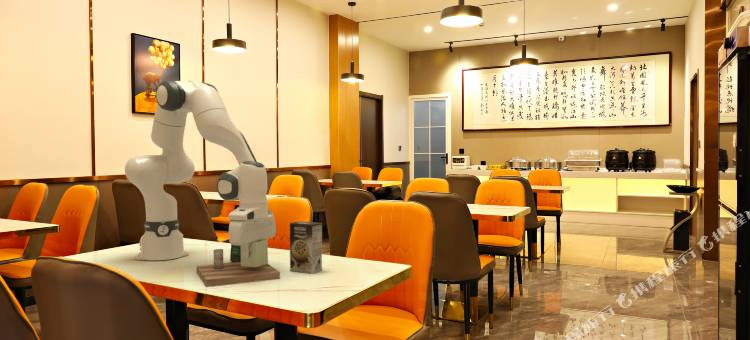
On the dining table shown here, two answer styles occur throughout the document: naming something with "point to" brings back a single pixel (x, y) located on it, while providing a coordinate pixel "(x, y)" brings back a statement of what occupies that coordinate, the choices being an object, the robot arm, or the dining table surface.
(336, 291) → the dining table surface
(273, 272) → the post board
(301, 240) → the coffee box
